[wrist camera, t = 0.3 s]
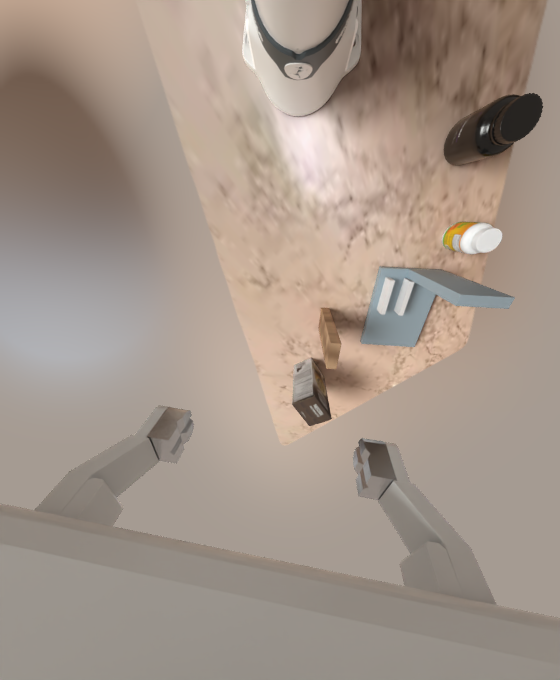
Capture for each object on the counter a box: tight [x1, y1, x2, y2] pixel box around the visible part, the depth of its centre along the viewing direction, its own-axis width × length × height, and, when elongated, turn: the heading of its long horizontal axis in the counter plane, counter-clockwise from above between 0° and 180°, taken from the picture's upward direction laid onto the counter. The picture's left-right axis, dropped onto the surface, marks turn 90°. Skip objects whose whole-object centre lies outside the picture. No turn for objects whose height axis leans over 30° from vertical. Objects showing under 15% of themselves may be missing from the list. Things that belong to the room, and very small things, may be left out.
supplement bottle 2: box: [442, 222, 502, 254], centre depth 42 cm, size 5×5×10 cm
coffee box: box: [292, 358, 332, 426], centre depth 60 cm, size 9×6×16 cm
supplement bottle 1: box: [444, 93, 543, 165], centre depth 34 cm, size 7×7×12 cm
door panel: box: [319, 308, 341, 369], centre depth 50 cm, size 6×3×18 cm, turn 178°
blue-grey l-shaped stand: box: [361, 267, 515, 347], centre depth 47 cm, size 20×14×20 cm
